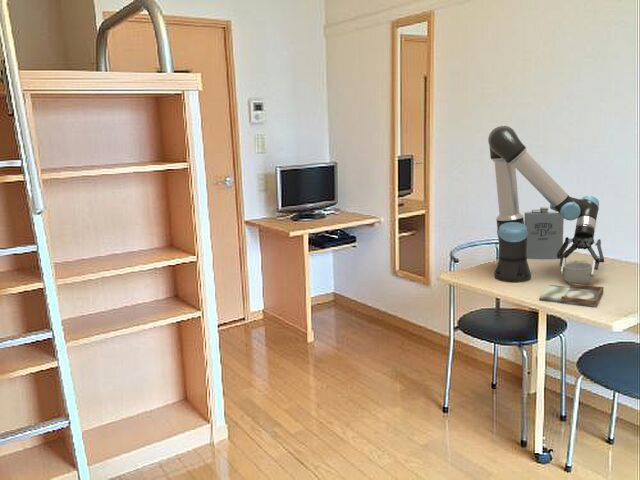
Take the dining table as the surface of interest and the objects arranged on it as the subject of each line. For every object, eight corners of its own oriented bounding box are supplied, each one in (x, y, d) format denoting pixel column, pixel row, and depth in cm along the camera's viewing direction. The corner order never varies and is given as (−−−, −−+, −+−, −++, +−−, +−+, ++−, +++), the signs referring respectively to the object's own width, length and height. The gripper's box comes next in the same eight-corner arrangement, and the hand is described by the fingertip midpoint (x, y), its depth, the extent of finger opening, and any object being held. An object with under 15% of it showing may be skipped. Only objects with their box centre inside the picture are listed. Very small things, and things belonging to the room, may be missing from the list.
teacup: (589, 288, 229) (590, 269, 227) (560, 285, 235) (561, 266, 233) (594, 278, 240) (595, 260, 239) (566, 275, 246) (567, 258, 244)
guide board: (539, 300, 220) (539, 294, 219) (549, 287, 234) (549, 281, 233) (596, 307, 209) (596, 301, 208) (603, 292, 223) (603, 286, 222)
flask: (524, 259, 275) (525, 208, 269) (523, 256, 279) (524, 206, 274) (563, 259, 270) (564, 207, 265) (561, 256, 275) (563, 205, 269)
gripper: (616, 235, 240) (609, 281, 231) (557, 232, 252) (548, 275, 243) (615, 226, 234) (607, 272, 225) (555, 223, 247) (546, 267, 238)
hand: (577, 274), depth 234 cm, fingers closed on teacup, 11 cm apart
